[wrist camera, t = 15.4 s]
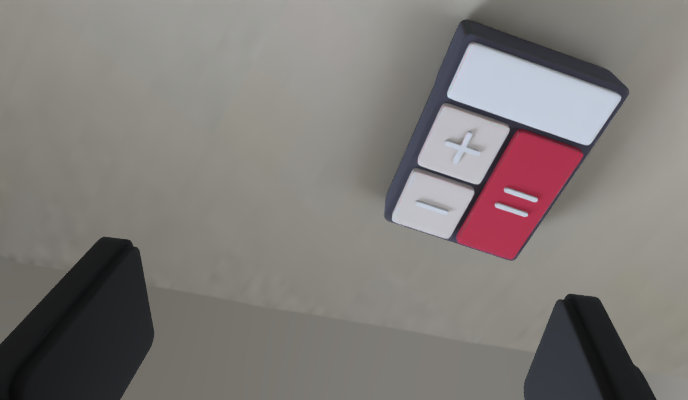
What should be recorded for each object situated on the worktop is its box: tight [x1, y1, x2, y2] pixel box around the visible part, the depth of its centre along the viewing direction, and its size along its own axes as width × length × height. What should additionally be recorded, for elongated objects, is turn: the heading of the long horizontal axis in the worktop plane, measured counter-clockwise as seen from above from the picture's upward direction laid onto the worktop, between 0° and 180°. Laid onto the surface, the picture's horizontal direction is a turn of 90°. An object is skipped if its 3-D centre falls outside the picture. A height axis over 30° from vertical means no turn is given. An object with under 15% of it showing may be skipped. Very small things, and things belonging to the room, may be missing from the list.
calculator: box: [384, 20, 629, 260], centre depth 35 cm, size 11×4×15 cm
